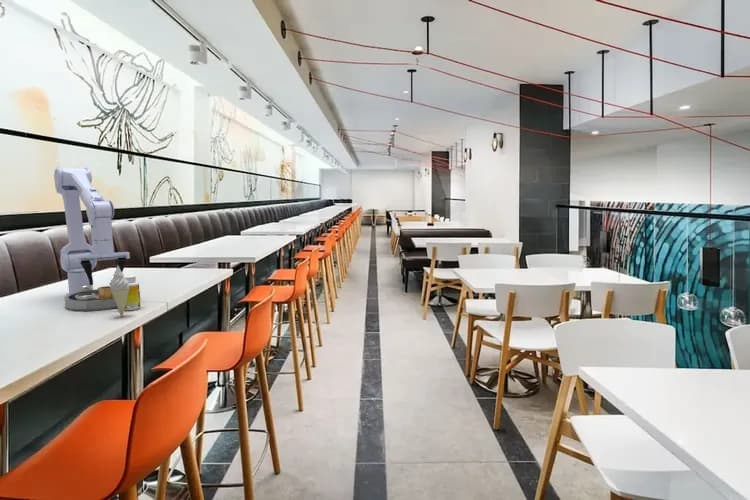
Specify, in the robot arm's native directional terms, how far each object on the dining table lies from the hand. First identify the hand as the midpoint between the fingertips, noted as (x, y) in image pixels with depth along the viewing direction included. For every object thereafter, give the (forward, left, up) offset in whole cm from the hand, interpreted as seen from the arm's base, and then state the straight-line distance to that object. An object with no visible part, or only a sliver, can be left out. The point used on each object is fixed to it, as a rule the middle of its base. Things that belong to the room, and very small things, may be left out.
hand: (105, 283), depth 155 cm
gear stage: (-5, 0, -7) cm, 9 cm away
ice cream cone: (+17, +1, -8) cm, 18 cm away
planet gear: (0, 0, -7) cm, 7 cm away
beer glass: (+9, +5, -8) cm, 13 cm away
